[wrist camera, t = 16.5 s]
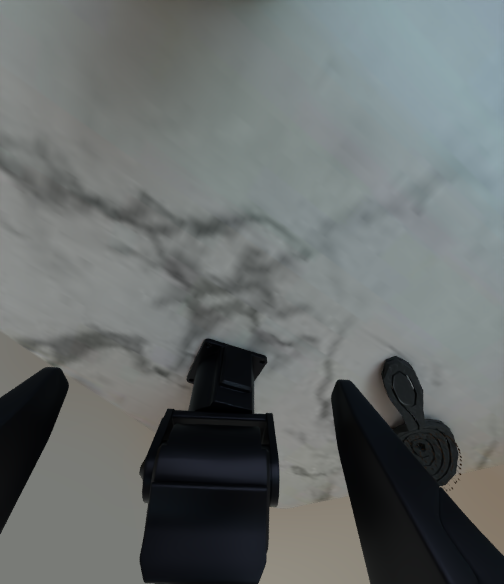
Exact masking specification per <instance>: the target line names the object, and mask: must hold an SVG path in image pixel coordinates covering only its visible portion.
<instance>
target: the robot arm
mask: <svg viewBox="0 0 504 584" xmlns="http://www.w3.org/2000/svg"><path fill="white" fill-rule="evenodd" d="M209 344H210V345H209ZM266 364H267V357H266V356H264V355H261V354H257V353H254V352H251V351H248V350H244V349H241V348H238V347H235V346H231V345H228V344H225V343H222V342H218V341H215V340H212V339H206V340H204V342H203V344H202V346H201V348H200V350H199V352H198V354H197V357H196V359H195V361H194V363H193V365H192V367H191V369H190V371H189V374H188V376H187V381H188V382H189V383H192V384H194V386H193V390H192V395H191V400H190V405H189V410H188V411H182V410H174V409H167V411H166V413H165V416H164V418H162V420H161V422H160V425H159V427H158V430H157V432H156V434H155V437H154V439H153V442H152V444H151V447H150V449H149V451H148V454H147V456H146V458H145V460H144V462H143V463H142V465H141V467H140V472H139V473H140V476H141V478H142V479H143V489H142V498H143V501H144V502H145V503H148V510H147V517H146V525H145V531H144V538H143V543H142V548H141V553H140V565H141V571H142V576H143V580H144V582H145V583H155V584H258V583H259V581H260V578H261V575H262V573H263V570H264V568H265V565H266V553H267V550H268V540H269V507H277V505H278V498H279V459H278V450H277V443H276V436H275V428H274V421H273V414H272V413H266V414H254V381H255V379H256V378H257V376H258V375H259V374H260V372H261V371H262V369H263V368H264V366H265V365H266ZM68 388H69V384H68V381H67V379H66V377H65V375H64V373H63V371H62V370H61V369H60V368H58V367H46V368H43V369H42V370H40V371H39V372H37V373H36V374H34V375H33V376H31V377H30V378H29V379H27V380H26V381H24V382H23V383H22V384H20V385H19V386H17V387H15V388H14V389H12V390H11V391H9V392H8V393H7V394H5V395H4V396H2V397H1V398H0V534H1V532H2V530H3V528H4V526H5V524H6V522H7V520H8V518H9V516H10V514H11V512H12V510H13V508H14V506H15V504H16V502H17V500H18V498H19V496H20V494H21V492H22V490H23V488H24V486H25V485H26V483H27V481H28V479H29V477H30V475H31V473H32V471H33V469H34V467H35V465H36V463H37V461H38V459H39V457H40V455H41V453H42V451H43V449H44V447H45V445H46V443H47V441H48V439H49V437H50V435H51V432H52V430H53V427H54V424H55V422H56V420H57V417H58V415H59V412H60V409H61V407H62V404H63V402H64V399H65V397H66V394H67V391H68ZM331 402H332V409H333V417H334V425H335V432H336V440H337V446H338V451H339V456H340V460H341V464H342V468H343V472H344V476H345V481H346V485H347V489H348V493H349V497H350V501H351V505H352V509H353V514H354V518H355V522H356V526H357V530H358V534H359V538H360V543H361V547H362V551H363V555H364V559H365V563H366V567H367V572H368V576H369V580H370V584H504V556H503V555H502V554H501V553H500V552H499V551H498V550H497V549H496V548H495V546H494V545H493V544H492V543H491V542H490V541H489V540H488V539H487V538H486V537H485V536H484V535H483V534H482V533H481V532H480V531H479V530H478V528H477V527H476V526H475V525H474V524H473V523H472V522H471V521H470V520H469V519H468V517H467V516H466V515H465V514H464V513H463V512H462V511H461V509H460V508H459V507H458V506H457V505H456V504H455V503H454V501H453V500H452V499H451V498H450V497H449V496H448V494H447V493H446V492H445V491H444V490H443V488H441V487H440V488H439V484H438V483H437V482H436V480H435V479H434V478H433V477H432V476H431V474H430V473H429V472H428V471H427V470H426V469H425V467H424V466H423V465H422V464H421V463H420V462H419V460H418V459H417V458H416V457H415V456H414V454H413V453H412V452H411V451H410V450H409V449H408V447H407V446H406V445H405V444H404V443H403V442H402V440H401V439H400V438H399V437H398V436H397V434H396V433H395V432H394V431H393V430H392V429H391V427H390V426H389V425H388V424H387V423H386V422H385V420H384V419H383V418H382V417H381V416H380V414H379V413H378V412H377V411H376V410H375V409H374V407H373V406H372V405H371V404H370V403H369V402H368V400H367V399H366V398H365V397H364V396H363V394H362V393H361V392H360V391H359V390H358V389H357V387H356V386H355V385H354V384H353V383H352V382H351V381H350V380H337V382H336V384H335V387H334V389H333V392H332V395H331Z"/></svg>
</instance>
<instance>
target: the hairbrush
mask: <svg viewBox="0 0 504 584" xmlns="http://www.w3.org/2000/svg"><path fill="white" fill-rule="evenodd" d="M381 375H382V379H383V383H384V387H385V389H386V392H387V394H388V397H389V399H390V400H391V402H392V403H393V404H394V406H395V407H396V408H397V410H398V411H399V412H400V414H401V415H402V417H403V419H404V421H405V423H406V424H403V425H400V426H398V427H396V428H395V429H393V431H394V432H395V433H396V434H397V436H398V437H399V438H400V439H401V440H402V441H403V443H404V444H405V445H406V446H407V447H408V449H409V450H410V451H411V452H412V453H413V454H414V456H415V457H416V458H417V459H418V460H419V462H420V463H421V464H422V465H423V466H424V467H425V469H426V470H427V471H428V472H429V473H430V474H431V476H432V477H433V478H434V479H435V480H436V482H437V483H438V484H439V486H443V485H446V484H447V483H448V481H449V480H450V479H451V478H452V477H453V476H454V475H455V474H456V468H457V466H458V465H457V460H458V455H459V454H458V452H459V451H460V450H459V448H458V450H459V451H458V450H457V447H458V446H457V444H456V443H455V440H454V436H453V434H452V432H451V430H450V428H448V427H447V426H446V425H445V424H444V423H442V422H441V421H437V420H431V419H424V412H423V389H422V387H421V385H420V382H419V380H418V378H417V376H416V373H415V371H414V370H413V368H412V366H411V365H410V364H409V363H408V362H406V361H404V360H403V359H401V358H399V357H397V356H395V357H392V358H389V359H387V360H386V362H385V365H384V368H383V371H382V374H381ZM406 375H407V376H408V377H409V379H410V381H411V382H412V385H413V387H414V390H413V388H412V386H411V383H410V381H409V380H408V378H407V376H406ZM392 386H393V389H392ZM407 409H408V410H409V411H410V412H411V413H412V414H413V415H414V416H415V418H416V421H415V418H414V417H413V415H412V414H411V413H410V412H409V411H408V410H407ZM443 433H444V434H445V435H443ZM435 437H436V438H437V440H438V442H439V444H440V447H441V449H440V448H439V445H438V442H437V441H436V439H435ZM445 437H446V438H445ZM446 439H447V441H446ZM418 442H420V443H423V445H422V444H421V445H420V446H418V445H417V444H418ZM429 442H430V443H431V445H432V448H431V446H430V443H429ZM447 444H448V445H447ZM410 445H411V446H412V447H411V446H410ZM456 446H457V447H456ZM459 453H460V452H459ZM460 454H461V453H460ZM459 456H460V455H459ZM460 457H461V456H460ZM461 458H462V457H461ZM460 461H462V460H461V459H460ZM460 465H461V466H462V464H460ZM458 467H459V466H458ZM459 468H460V467H459ZM460 469H461V468H460ZM459 474H460V473H459ZM460 475H461V474H460ZM456 482H457V481H456ZM456 482H455V483H456ZM452 489H453V488H452Z"/></svg>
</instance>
